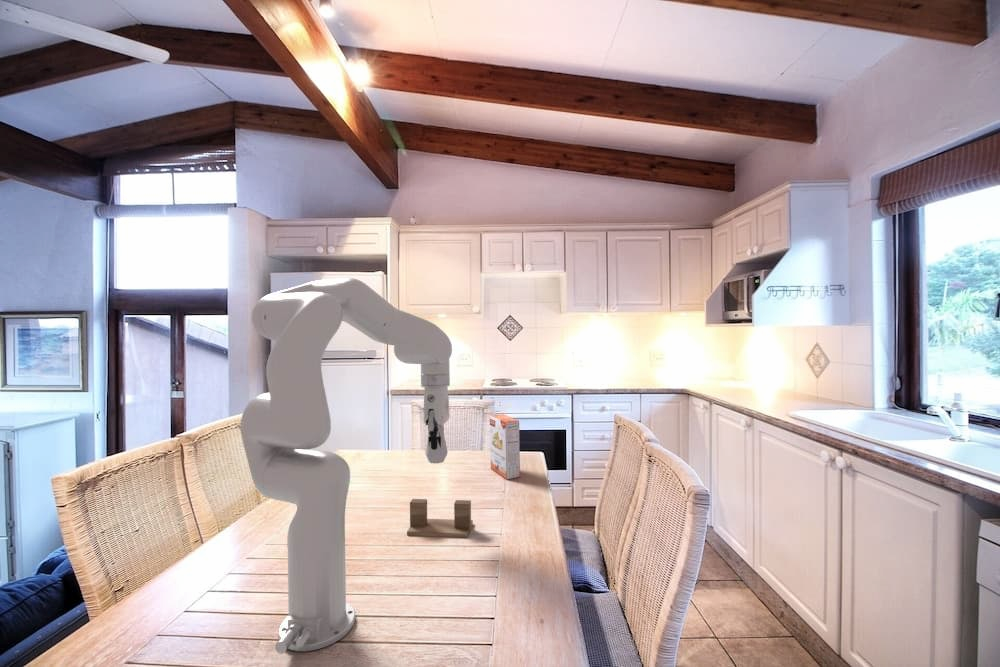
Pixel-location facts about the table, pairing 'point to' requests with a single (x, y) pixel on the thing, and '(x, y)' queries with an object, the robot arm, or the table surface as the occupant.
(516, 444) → the cracker box
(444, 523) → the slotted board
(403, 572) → the table surface
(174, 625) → the table surface
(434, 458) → the salt shaker
